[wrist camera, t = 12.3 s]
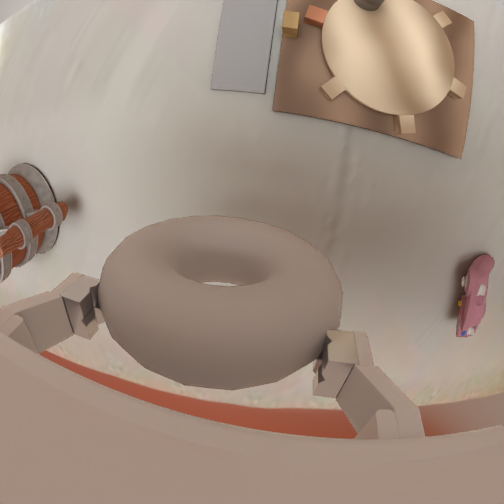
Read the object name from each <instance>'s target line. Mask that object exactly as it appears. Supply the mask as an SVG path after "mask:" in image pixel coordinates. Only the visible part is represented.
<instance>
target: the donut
mask: <svg viewBox="0 0 504 504" xmlns="http://www.w3.org/2000/svg"><path fill="white" fill-rule="evenodd" d="M201 282H225V283H232V284H236V285H239V286H231V287H228V286H218V285H208V284H204V283H201ZM342 294H343V292H342V288H341V284H340V281H339V279H338V277H337V275H336V273H335V271H334V269H333V267H332V266H331V264H330V262H329V261H328V260H327V258H326V257H325V256H324V255H323V254H322V253H320V252H319V251H318V250H317V249H316V248H315V247H314V246H312V245H311V244H310V243H308V242H307V241H305V240H303V239H301V238H299V237H297V236H295V235H294V234H292V233H290V232H288V231H286V230H283V229H281V228H278V227H275V226H272V225H269V224H266V223H262V222H257V221H253V220H248V219H243V218H235V217H225V216H190V217H183V218H175V219H170V220H166V221H163V222H159V223H156V224H153V225H150V226H147V227H144V228H142V229H140V230H139V231H137V232H135V233H133V234H131V235H130V236H128V237H126V238H125V239H124V240H123V241H122V242H121V243H120V244H119V245H118V246H117V248H116V249H115V250H114V251H113V252H112V253H111V254H110V255H109V257H108V258H107V259H106V261H105V264H104V266H103V269H102V273H101V278H100V284H99V288H98V303H99V306H100V308H101V311H102V314H103V317H104V319H105V322H106V325H107V327H108V329H109V332H110V334H111V336H112V338H113V339H114V340H115V341H116V342H117V343H118V344H119V345H120V346H121V347H122V348H123V349H124V350H125V351H126V352H128V353H129V354H130V355H131V356H132V357H133V358H134V359H135V360H136V361H137V362H138V363H140V364H141V365H142V366H143V367H144V368H146V369H148V370H150V371H152V372H155V373H157V374H159V375H162V376H164V377H166V378H169V379H171V380H173V381H176V382H178V383H181V384H183V385H187V386H195V387H204V388H213V389H224V390H237V389H243V388H249V387H254V386H259V385H264V384H269V383H274V382H277V381H279V380H281V379H283V378H285V377H287V376H288V375H290V374H292V373H294V372H296V371H297V370H299V369H301V368H302V367H304V366H306V365H308V364H309V363H311V362H312V361H314V360H315V359H317V358H318V356H319V355H320V353H321V352H322V349H323V344H324V340H325V337H326V331H327V330H328V329H335V330H337V329H338V327H339V325H340V319H341V310H342Z"/></svg>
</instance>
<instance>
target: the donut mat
mask: <svg viewBox="0 0 504 504" xmlns="http://www.w3.org/2000/svg"><path fill="white" fill-rule="evenodd" d="M277 2H278V0H224V2H223V8H222V13H221V19H220V25H219V32H218V38H217V45H216V52H215V59H214V66H213V74H212V82H211V89H212V90H228V91H241V92H251V93H261V94H265V89H266V82H267V74H268V67H269V60H270V52H271V45H272V38H273V31H274V23H275V16H276V9H277Z"/></svg>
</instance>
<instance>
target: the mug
mask: <svg viewBox="0 0 504 504" xmlns="http://www.w3.org/2000/svg"><path fill="white" fill-rule="evenodd" d="M67 212H68V206H67V204H66V203H65V202H58V203H55V199H54V196H53V194H52V191H51V189H50V187H49V185H48V183H47V181H46V180H45V179H44V177H43V176H42V175H41V174H40V173H39V172H38V171H37V170H36V169H35V168H34V167H32V166H30V165H27V164H19V165H17V166H15V167H13V169H12V170H11V171H10V172H9V173H8V175H7V174H1V175H0V283H1V282H2V281H4V280H5V279H6V278H7V277H8V276H9V275H10V273H11V269H12V268H14V267H21V266H23V265H24V264H26V263H27V262H28V261H30V260H31V259H32V258H33V257H34V255H35V253H45V252H47V251H49V250H50V249H51V248H52V246H53V245H54V242H55V240H56V236H57V230H58V226H59V225H60V224H61V223H62V221H64V219H65V217H66V215H67Z"/></svg>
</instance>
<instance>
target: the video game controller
mask: <svg viewBox="0 0 504 504" xmlns="http://www.w3.org/2000/svg"><path fill="white" fill-rule="evenodd" d="M493 267H494V259H493V257H491V256H490V255H487V254H485V255H481V256H479V257H477V258H476V259H475V260H474V262H473V263H472V265H471V266H470V267H469V269H468V273H466V276H465V279H464V276H463V278H462V281H461V284H462V287H463V286H464V292H465V294H466V295H462V297H461V301H460V300H459V302H458V306H460V309H459V316H458V319H457V324H456V327H457V328H456V337H468V336H473V334H474V333H475V331H476V329H477V327H478V324H479V323H480V321H481V319H482V318H483V316H484V313H485V308H486V303H485V300H486V294H487V288H488V277H489V274H490V272H491V270H492V268H493Z"/></svg>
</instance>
